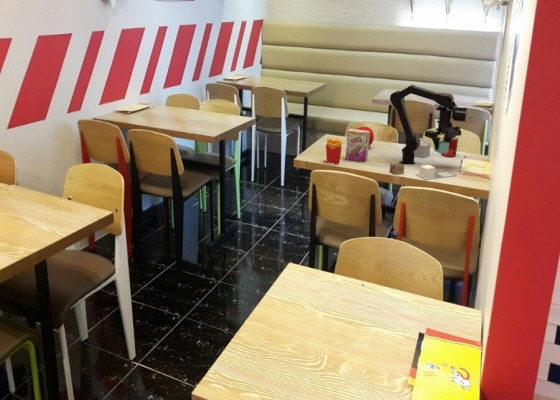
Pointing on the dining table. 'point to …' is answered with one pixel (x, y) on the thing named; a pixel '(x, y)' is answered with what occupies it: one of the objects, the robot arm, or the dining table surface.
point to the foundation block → (427, 171)
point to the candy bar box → (357, 145)
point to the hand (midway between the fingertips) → (441, 149)
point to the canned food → (451, 148)
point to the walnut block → (396, 168)
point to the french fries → (333, 150)
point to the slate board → (439, 175)
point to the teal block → (442, 147)
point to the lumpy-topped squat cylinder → (423, 149)
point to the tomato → (370, 133)
